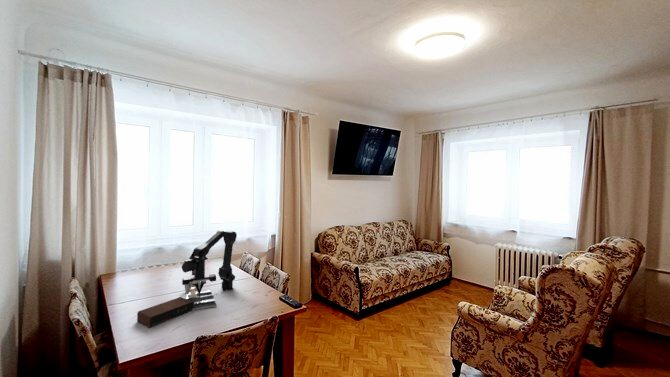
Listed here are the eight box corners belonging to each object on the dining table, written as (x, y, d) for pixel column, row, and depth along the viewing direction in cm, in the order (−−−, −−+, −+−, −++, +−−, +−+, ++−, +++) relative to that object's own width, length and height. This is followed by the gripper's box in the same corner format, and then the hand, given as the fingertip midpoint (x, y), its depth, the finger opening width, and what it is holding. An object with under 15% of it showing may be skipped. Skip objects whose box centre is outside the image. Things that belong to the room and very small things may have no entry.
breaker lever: (196, 296, 177) (197, 286, 177) (196, 298, 173) (197, 288, 173) (188, 297, 175) (189, 287, 175) (188, 299, 171) (189, 289, 171)
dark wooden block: (149, 329, 141) (149, 317, 141) (137, 322, 147) (137, 311, 147) (193, 311, 162) (193, 301, 162) (181, 306, 167) (181, 296, 167)
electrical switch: (186, 294, 184) (186, 279, 185) (183, 293, 188) (182, 278, 188) (201, 290, 192) (200, 276, 192) (197, 289, 195) (197, 275, 195)
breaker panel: (213, 293, 187) (213, 287, 187) (215, 303, 171) (215, 298, 171) (185, 297, 180) (185, 291, 180) (185, 308, 164) (185, 302, 164)
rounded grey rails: (216, 304, 170) (216, 302, 170) (216, 307, 167) (216, 305, 167) (184, 309, 163) (184, 307, 163) (184, 312, 159) (184, 310, 159)
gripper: (215, 263, 186) (214, 286, 187) (182, 266, 178) (182, 290, 178) (216, 267, 176) (216, 292, 177) (182, 271, 168) (182, 297, 168)
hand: (199, 293), depth 175 cm, fingers closed
